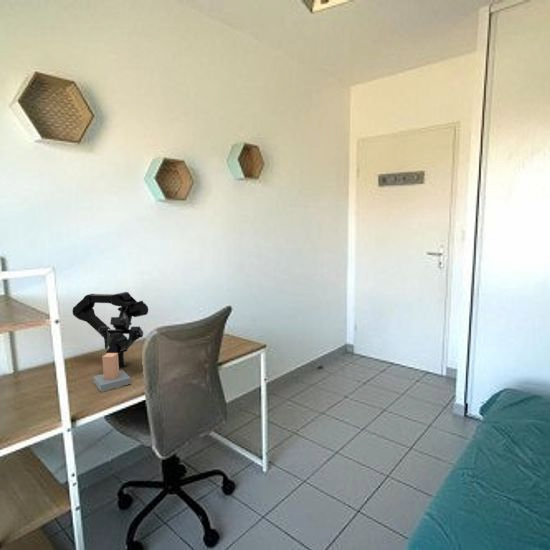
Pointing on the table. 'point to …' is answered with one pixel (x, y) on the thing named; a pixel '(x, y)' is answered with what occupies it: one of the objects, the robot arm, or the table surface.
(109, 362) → the brick
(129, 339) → the robot arm
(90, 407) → the table surface
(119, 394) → the table surface
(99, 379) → the base block
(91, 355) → the table surface
